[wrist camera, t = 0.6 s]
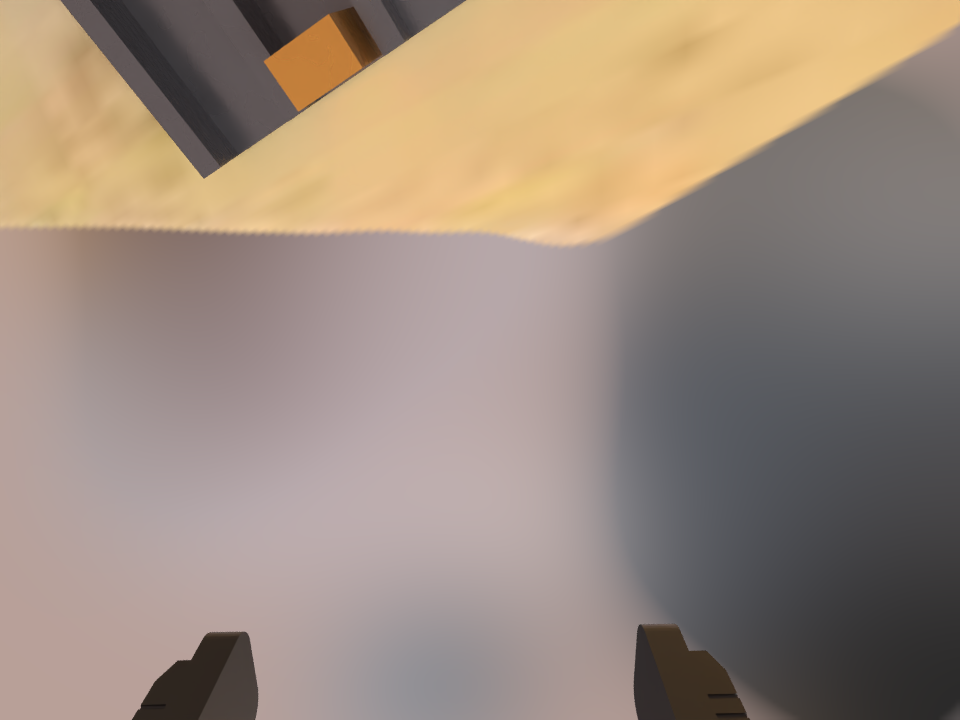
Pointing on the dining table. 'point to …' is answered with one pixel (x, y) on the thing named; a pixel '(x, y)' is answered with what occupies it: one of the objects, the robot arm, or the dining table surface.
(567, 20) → the dining table surface
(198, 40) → the rack
